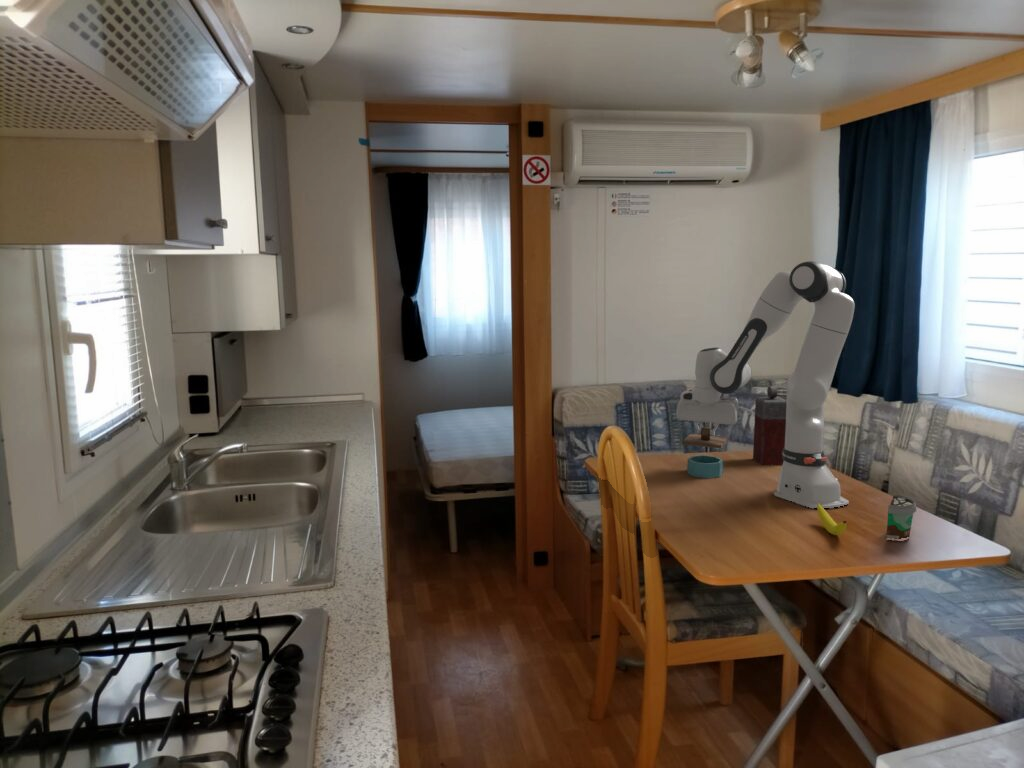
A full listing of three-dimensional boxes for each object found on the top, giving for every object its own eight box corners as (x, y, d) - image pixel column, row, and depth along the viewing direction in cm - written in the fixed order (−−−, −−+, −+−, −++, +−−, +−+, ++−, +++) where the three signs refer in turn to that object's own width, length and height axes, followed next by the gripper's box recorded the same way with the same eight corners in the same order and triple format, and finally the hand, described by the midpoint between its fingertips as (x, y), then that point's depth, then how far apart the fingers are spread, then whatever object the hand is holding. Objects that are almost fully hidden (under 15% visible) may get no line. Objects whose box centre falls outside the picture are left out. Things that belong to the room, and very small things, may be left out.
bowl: (727, 476, 256) (728, 462, 255) (698, 479, 253) (699, 464, 252) (710, 468, 267) (711, 454, 266) (682, 470, 264) (682, 456, 263)
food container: (912, 546, 193) (915, 509, 191) (885, 542, 196) (888, 505, 194) (916, 532, 203) (919, 496, 201) (890, 528, 206) (893, 492, 205)
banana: (822, 519, 213) (824, 498, 212) (849, 544, 194) (851, 521, 193) (812, 519, 213) (813, 498, 212) (838, 544, 195) (839, 521, 193)
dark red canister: (792, 465, 270) (796, 388, 265) (761, 465, 270) (764, 388, 265) (782, 458, 279) (786, 383, 274) (752, 458, 278) (756, 384, 274)
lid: (721, 448, 250) (721, 433, 249) (682, 444, 255) (682, 430, 254) (727, 440, 261) (728, 426, 260) (690, 436, 267) (691, 422, 266)
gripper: (740, 396, 254) (738, 436, 256) (680, 391, 263) (678, 429, 265) (737, 399, 248) (735, 440, 251) (675, 394, 257) (674, 433, 259)
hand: (705, 434), depth 258 cm, fingers closed on lid, 3 cm apart
